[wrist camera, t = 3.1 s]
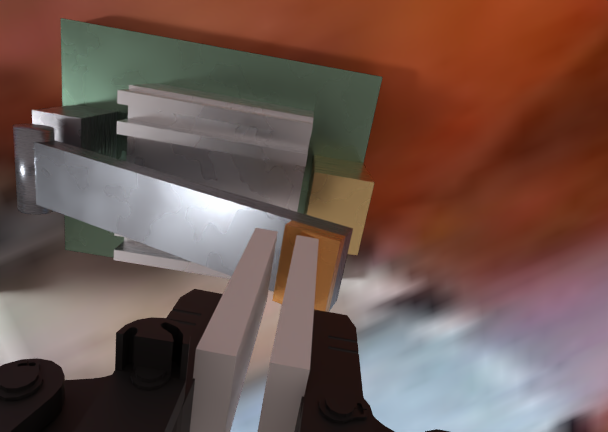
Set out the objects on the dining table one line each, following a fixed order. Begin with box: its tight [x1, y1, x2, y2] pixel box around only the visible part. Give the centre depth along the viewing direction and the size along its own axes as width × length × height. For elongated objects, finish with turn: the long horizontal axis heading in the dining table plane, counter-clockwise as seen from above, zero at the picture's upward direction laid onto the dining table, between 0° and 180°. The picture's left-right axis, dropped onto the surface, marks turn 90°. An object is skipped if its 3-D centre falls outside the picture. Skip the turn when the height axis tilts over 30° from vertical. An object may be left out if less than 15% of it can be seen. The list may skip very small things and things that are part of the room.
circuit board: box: [32, 18, 382, 279], centre depth 24 cm, size 18×14×7 cm
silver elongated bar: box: [13, 124, 353, 312], centre depth 17 cm, size 16×4×2 cm, turn 80°
